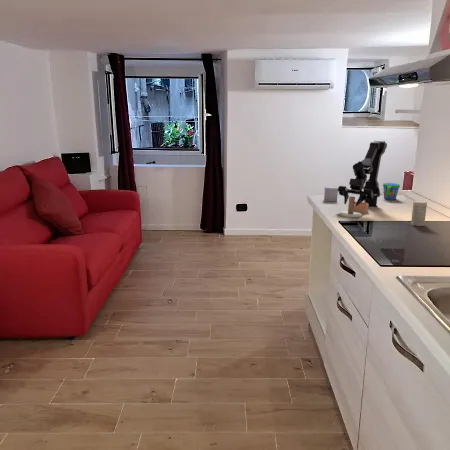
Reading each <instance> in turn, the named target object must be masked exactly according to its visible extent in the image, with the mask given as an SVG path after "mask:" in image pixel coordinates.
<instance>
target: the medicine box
mask: <svg viewBox="0 0 450 450" xmlns="http://www.w3.org/2000/svg"><path fill="white" fill-rule="evenodd" d="M323 191H324V194H323V201H324V202H338V195H339V192H338V187H335V186H325V187H324V190H323Z"/></svg>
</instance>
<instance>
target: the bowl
mask: <svg viewBox="0 0 450 450" xmlns="http://www.w3.org/2000/svg"><path fill="white" fill-rule="evenodd" d="M356 203H357V201H355V202H354V212H359V213H361V214H365V213H368V212H369V204H368V203H365V202H364V201H363V202H361V203H360V204H359V205H358V206H356Z"/></svg>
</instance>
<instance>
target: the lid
mask: <svg viewBox="0 0 450 450" xmlns="http://www.w3.org/2000/svg"><path fill="white" fill-rule="evenodd" d="M355 199H356V197H355V196H349V198H348V207H347V210H342V211H339V213H338V214H339V215H341V216H340V217H343V216H345V217H344V218H349V217H354V218H353V219H355V217H360V218H362V217H363V216H362V214H363V213H359V212H354V202H356V200H355ZM361 216H362V217H361Z"/></svg>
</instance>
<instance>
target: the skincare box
mask: <svg viewBox="0 0 450 450" xmlns="http://www.w3.org/2000/svg"><path fill="white" fill-rule="evenodd" d="M412 202H413V204H412V210H411V211H412V212H411V219H410V225H411V226H415V225H416V226H415V227H419V226H420V227H425V223H426V215H427V205H428V202H427V201H424V200H423V201H420V200H413V201H412Z"/></svg>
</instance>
